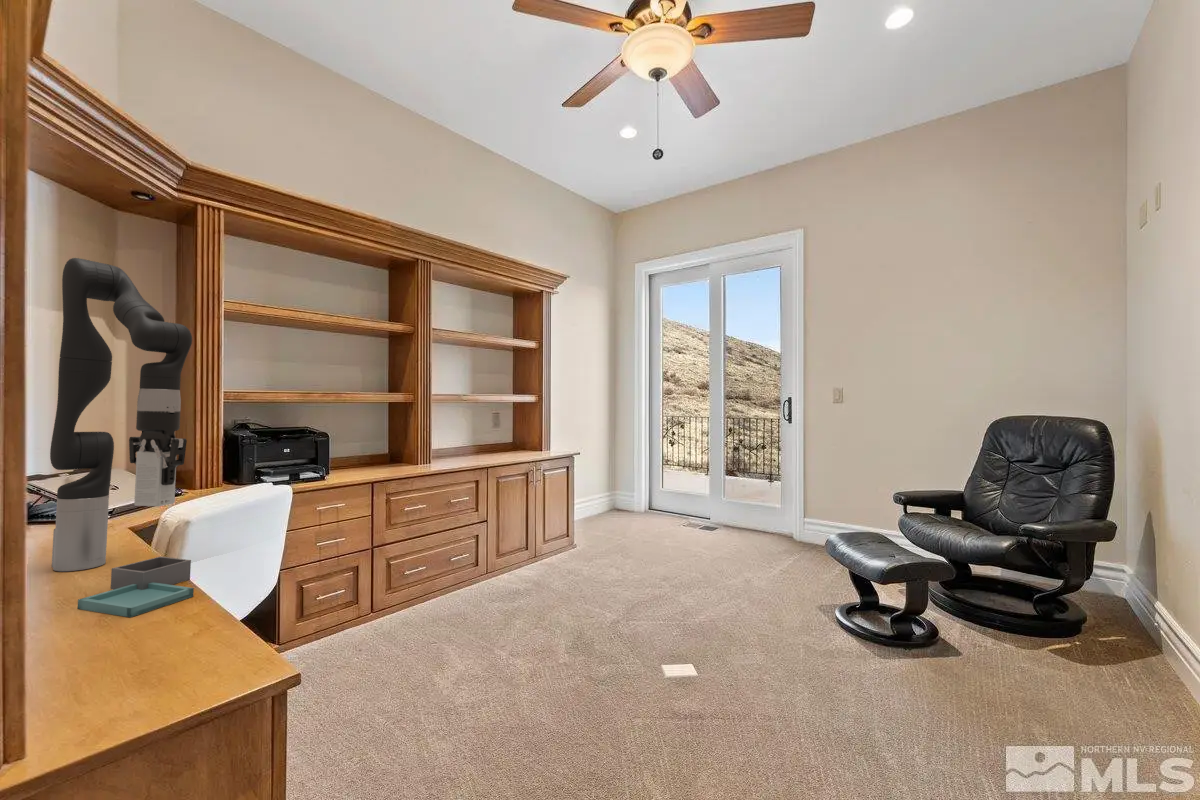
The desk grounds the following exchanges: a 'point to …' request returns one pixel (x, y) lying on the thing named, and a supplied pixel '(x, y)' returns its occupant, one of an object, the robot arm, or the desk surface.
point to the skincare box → (152, 481)
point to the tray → (135, 599)
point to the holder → (151, 572)
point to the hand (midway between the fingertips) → (155, 483)
